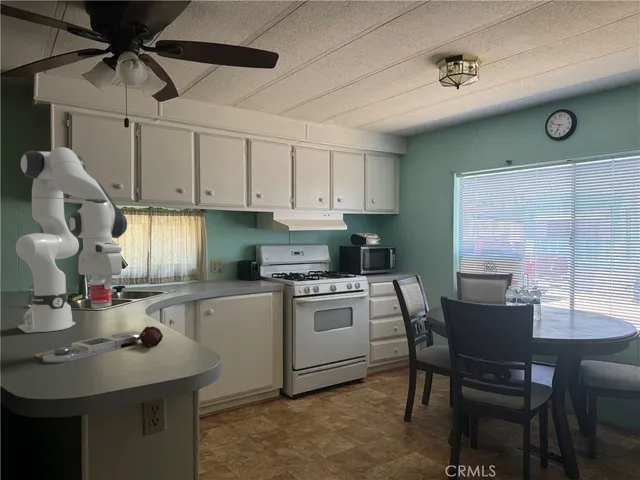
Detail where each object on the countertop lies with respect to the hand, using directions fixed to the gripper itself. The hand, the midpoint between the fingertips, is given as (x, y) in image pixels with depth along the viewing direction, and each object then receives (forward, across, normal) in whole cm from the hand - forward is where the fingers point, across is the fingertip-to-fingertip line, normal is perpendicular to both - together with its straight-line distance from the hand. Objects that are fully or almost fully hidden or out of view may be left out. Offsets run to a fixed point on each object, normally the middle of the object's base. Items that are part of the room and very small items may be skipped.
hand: (100, 288), depth 150 cm
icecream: (+21, +12, +10) cm, 26 cm away
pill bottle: (+6, 0, 0) cm, 6 cm away
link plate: (+20, -8, -12) cm, 25 cm away
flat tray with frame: (+20, +1, -2) cm, 20 cm away
